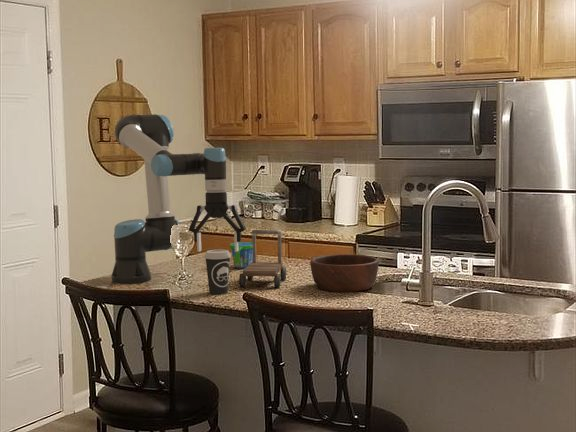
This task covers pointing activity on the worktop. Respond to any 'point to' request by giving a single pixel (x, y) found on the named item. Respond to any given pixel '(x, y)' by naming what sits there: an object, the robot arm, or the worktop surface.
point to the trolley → (264, 263)
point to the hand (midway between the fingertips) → (217, 251)
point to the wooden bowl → (344, 272)
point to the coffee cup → (218, 271)
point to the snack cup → (242, 254)
